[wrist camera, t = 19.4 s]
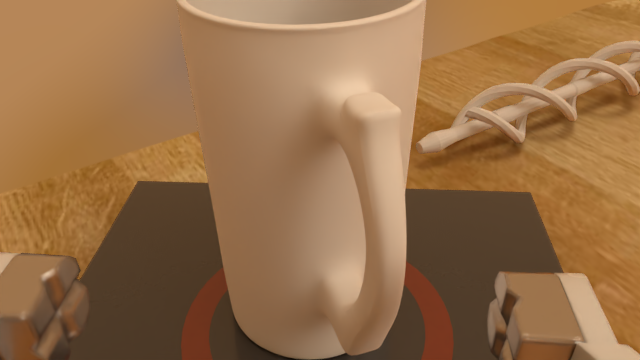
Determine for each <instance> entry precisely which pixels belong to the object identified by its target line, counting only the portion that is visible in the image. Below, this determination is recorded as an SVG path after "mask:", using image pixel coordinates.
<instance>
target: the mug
mask: <svg viewBox="0 0 640 360" xmlns="http://www.w3.org/2000/svg"><path fill="white" fill-rule="evenodd" d="M176 1H177V7H178V14H179V23H180V29H181V36H182V42H183V48H184V54H185V60H186V65H187V71H188V77H189V82H190V88H191V93H192V98H193V103H194V109H195V114H196V119H197V125H198V130H199V136H200V141H201V147H202V152H203V157H204V163H205V168H206V173H207V179H208V184H209V190H210V195H211V200H212V206H213V211H214V217H215V222H216V228H217V234H218V239H219V245H220V251H221V256H222V262H223V267H224V273H225V278H226V282H227V287H228V292H229V296H230V301H231V305H232V310H233V313H234V316H235V319H236V321H237V323H238V324H239V326H240V328H241V329H242V330H243V332H244V333H245V334H246V335H247V336H248V337H249V338H250V339H251V340H252V341H253V342H255V343H256V344H257V345H259V346H261V347H262V348H264V349H266V350H268V351H270V352H273V353H275V354H278V355H281V356H285V357H289V358H295V359H308V360H311V359H324V358H330V357H334V356H338V355H341V354H344V353H347V354H348V355H359V354H362V353H366V352H369V351H373V350H376V349H378V348H379V347H380V346H381V345H382V343H383V341H384V339H385V337H386V335H387V334H388V332H389V330H390V328H391V326H392V324H393V322H394V320H395V318H396V316H397V313H398V310H399V306H400V302H401V298H402V292H403V286H404V279H405V269H406V207H405V189H406V181H407V173H408V165H409V156H410V148H411V140H412V132H413V124H414V116H415V108H416V100H417V92H418V83H419V75H420V66H421V56H422V44H423V31H424V17H425V8H426V0H176Z"/></svg>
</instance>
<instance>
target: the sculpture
mask: <svg viewBox="0 0 640 360" xmlns="http://www.w3.org/2000/svg"><path fill="white" fill-rule="evenodd" d="M627 52H633V53H632V54H631V56H630V58H629V60H628V62H626V63H623V64H621V65H616V64H614V63H611V62H608V61H605V59H608V58H610V57H612V56H615V55H618V54H622V53H627ZM576 70H577V72H576V73H575V75H574V76H573V78H572V80H571V82H570V83H568V84H567V85H565V86H562V87H560V88H557V89H554V90H552V91H550V90H547V89H545V88H543V87H544V86H545V85H546V84H548V83H549V82H550V81H551V80H553V79H555V78H557V77H559V76H560V75H563V74H565V73H568V72H572V71H576ZM591 70H597V71H601V72H599V73H597V74H594V75H591V76H589V77H586V76H587V74H588V73H589V72H590V71H591ZM639 70H640V41H625V42H619V43H615V44H612V45H609V46H606V47H604V48H602V49H601V50H599V51H597V52H596V53H594V54H593V55H592V56H590V57H589V58H576V59H571V60H567V61H564V62H561V63H559V64H557V65H554V66H552V67H551V68H549V69H548V70H546V71H545V72H544V73H542V74H541V75H540V76H539V77H538V78H537V79H536V80H535V81H534V82H533V83H532V84H525V83H505V84H500V85H496V86H493V87H490V88H488V89H486V90H484V91H482V92H481V93H479V94H478V95H477V96H475V97H474V98H473V99H472V100H470V101H469V102H468V103H467V104H466V105H465V106H464V107H463V109H462V110H461V111H460V113H459V114H458V115H457V117H456V119H455V120H454V122H453V124H452V127H451V129H446V130H441V131H436V132H431V133H429V134H428V135H427V136H425V137H424V138H423V139H421V140H420V141H419V142H418V143H416V149H417V151H418V152H419V153H434V152H439V151H441V150H442V149H444V148H446V147H447V146H449V145H451V144H453V143H454V142H456V141H459V140H461V139H464V138H467V137H469V136H472V135H474V134H477V133H479V132H482V131H485V130H487V129H490V128H492V127H496V128H497V129H499V130H500V131H501V132H503V133H504V134H505V135H507V136H508V137H509V138H511V139H512V140H513V141H515V142H516V143H522V142H523V141H524V140H525V131H526V120H527V115H528V113H531V112H533V111H536V110H539V109H541V108H544V107H546V106H549V105H553V106H555V107H556V108H557V109H558V110H559V111H561V112H562V113H563V115H564V116H565V117H566V118H567V119H568V120H569V121H575V120H576V119H577V112H576V98H577V96H578V95H580V94H583V93H585V92H588V91H589V90H590V89H593V88H595V87H598V86H600V85H603V84H606V83H608V82H611V81H613V80H616V79H619V80H620V81H622V82H623V83H624V84H625V87H626V90H627V92H628V94H629V95H631V96H636V95H638V93H639V92H640V88H639V85H638V83H637V81H636V80H635V73H636V71H639ZM585 77H586V78H585ZM510 95H524V97H523V99H522V101H521V102H520V103H517V104H514V105H508V106H505V107H503V108H500V109H497V110H495V111H492V112H490V111H488V110H485V109H482V108H480V107H481V106H483V105H484V104H486V103H488V102H490V101H492V100H494V99H497V98H500V97H503V96H510ZM564 99H566V101H565V100H564ZM469 118H472V119H475V120H472V121H469V122H467V121H468V120H469ZM516 118H517V119H516ZM514 120H516V126H515V128H514V127H513V126H512V125H510V124H509V122H512V121H514ZM466 122H467V123H466Z"/></svg>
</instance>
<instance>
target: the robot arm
mask: <svg viewBox="0 0 640 360" xmlns="http://www.w3.org/2000/svg"><path fill="white" fill-rule="evenodd" d="M80 271H81V270H80V268H79V265H78V263H77V260H76V258H74V257H71V256H62V255H46V254H30V253H21V254H20V253H5V252H0V360H68V358H69V357H70V355H71V349H70V346H69V342H71V341H72V340H73V339H75V338H76V337H78V336H79V335H80V334H82V332H83V330H84V328H85V326H86V324H87V321H88V317H89V312H90V296H89V293H88V290H87V287H86V286H85V285H84V284H82V283H81V282H80V281H79V280H78V279H76V278H77V276H78V274H79V273H80ZM494 289H495V293H496V297H497V298H496V299H494V300H493V301H492V302H491V303H490V305H489V310H488V315H487V335H488V342H489V347H490V352H491V353H492V354H493V355H494V356H495V357H496V358H497V359H498V360H640V354H639V353H637V352H636V351H635V350H634V349H632V348H631V347H630V346H628V345H622V344H618V341H617V339H616V337H615V335H614V333H613V331H612V329H611V327H610V325H609V322H608V320H607V318H606V316H605V314H604V312H603V310H602V308H601V306H600V303H599V301H598V299H597V297H596V295H595V293H594V291H593V289H592V287H591V284H590V282H589V280H588V278H587V277H586V276H585V275H584V274H583V273H554V274H553V273H537V272H502V271H499V273H498V275H497V276H496V280H495V284H494Z"/></svg>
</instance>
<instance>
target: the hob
mask: <svg viewBox="0 0 640 360" xmlns="http://www.w3.org/2000/svg"><path fill="white" fill-rule="evenodd" d="M405 207H406V269H405V279H404V286H403V292H402V298H401V302H400V306H399V310H398V313H397V316H396V318H395V320H394V322H393V324H392V326H391V328H390V330H389V332H388V334H387V335H386V337H385V339H384V341H383V343H382V345H381V346H380V347H379V348H378V349H376V350H373V351H369V352H366V353H362V354H359V355H348V354H347V353H344V354H341V355H338V356H334V357H330V358H324V359H311V360H498V359H497V358H496V357H495V356H494V355H493V354H492V353H491V352H490V347H489V342H488V335H487V315H488V310H489V305H490V303H491V302H492V301H493V300H494V299H496V298H497V297H496V293H495V289H494V284H495V280H496V276H497V275H498V273H499V271H502V272H537V273H553V274H554V273H564V272H563V270H562V268H561V265H560V263H559V260H558V258H557V256H556V253H555V251H554V248H553V246H552V243H551V241H550V239H549V236H548V234H547V231H546V229H545V227H544V224H543V222H542V219H541V217H540V214H539V212H538V210H537V207H536V205H535V202H534V200H533V198H532V195H531V193H530V192H503V191H469V190H434V189H405ZM80 282H81V283H82V284H84V285H85V286H86V287H87V290H88V293H89V296H90V312H89V317H88V321H87V324H86V326H85V328H84V330H83V332H82V334H80V335H79V336H78V337H76V338H75V339H73V340H72V341H71V342H69V346H70V349H71V355H70V357H69V358H68V360H308V359H295V358H289V357H285V356H281V355H278V354H275V353H273V352H270V351H268V350H266V349H264V348H262V347H261V346H259V345H257V344H256V343H255V342H253V341H252V340H251V339H250V338H249V337H248V336H247V335H246V334H245V333H244V332H243V330H242V329H241V328H240V326H239V324H238V323H237V321H236V319H235V316H234V313H233V310H232V305H231V301H230V296H229V292H228V287H227V282H226V278H225V273H224V267H223V262H222V256H221V251H220V245H219V239H218V234H217V228H216V222H215V217H214V211H213V206H212V200H211V195H210V190H209V184H208V183H193V182H158V181H138V182H137V184H136V185H135V187H134V189H133V190H132V192H131V194H130V196H129V197H128V199H127V201H126V202H125V204H124V206H123V207H122V209H121V211H120V213H119V214H118V216H117V218H116V219H115V221H114V223H113V224H112V226H111V228H110V230H109V231H108V233H107V235H106V236H105V238H104V240H103V241H102V243H101V245H100V247H99V248H98V250H97V252H96V253H95V255H94V257H93V258H92V260H91V262H90V264H89V265H88V267H87V269H86V270H85V272H84V274H83V275H82V277H81V279H80Z"/></svg>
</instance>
